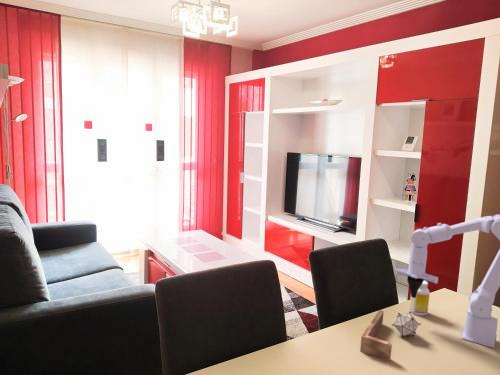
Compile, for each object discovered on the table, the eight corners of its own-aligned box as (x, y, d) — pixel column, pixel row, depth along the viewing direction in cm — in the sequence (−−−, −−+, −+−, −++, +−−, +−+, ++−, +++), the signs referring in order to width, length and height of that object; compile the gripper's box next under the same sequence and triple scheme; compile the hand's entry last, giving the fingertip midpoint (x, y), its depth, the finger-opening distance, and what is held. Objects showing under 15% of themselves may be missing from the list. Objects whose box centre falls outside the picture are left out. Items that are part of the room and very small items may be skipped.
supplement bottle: (431, 315, 148) (434, 283, 146) (418, 317, 145) (422, 285, 143) (417, 307, 154) (421, 277, 152) (405, 309, 151) (408, 279, 149)
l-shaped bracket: (403, 330, 134) (405, 316, 134) (389, 361, 115) (391, 345, 114) (378, 322, 139) (379, 309, 138) (360, 351, 119) (361, 335, 119)
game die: (409, 347, 130) (425, 335, 123) (386, 336, 131) (400, 322, 124) (411, 325, 136) (426, 312, 130) (389, 315, 138) (402, 301, 131)
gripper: (394, 260, 138) (391, 295, 140) (438, 269, 131) (433, 305, 133) (398, 255, 144) (395, 289, 146) (440, 264, 137) (436, 299, 138)
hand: (413, 296), depth 140 cm, fingers closed
